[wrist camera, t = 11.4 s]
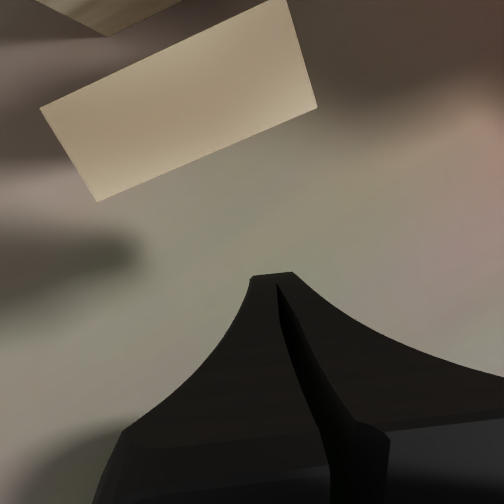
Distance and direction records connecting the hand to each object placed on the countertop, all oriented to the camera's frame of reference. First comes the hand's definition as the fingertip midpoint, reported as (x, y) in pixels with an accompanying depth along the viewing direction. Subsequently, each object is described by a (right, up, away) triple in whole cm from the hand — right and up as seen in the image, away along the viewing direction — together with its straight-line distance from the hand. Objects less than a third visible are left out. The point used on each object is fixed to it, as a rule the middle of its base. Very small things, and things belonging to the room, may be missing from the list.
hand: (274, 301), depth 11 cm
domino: (-3, +8, +3) cm, 9 cm away
